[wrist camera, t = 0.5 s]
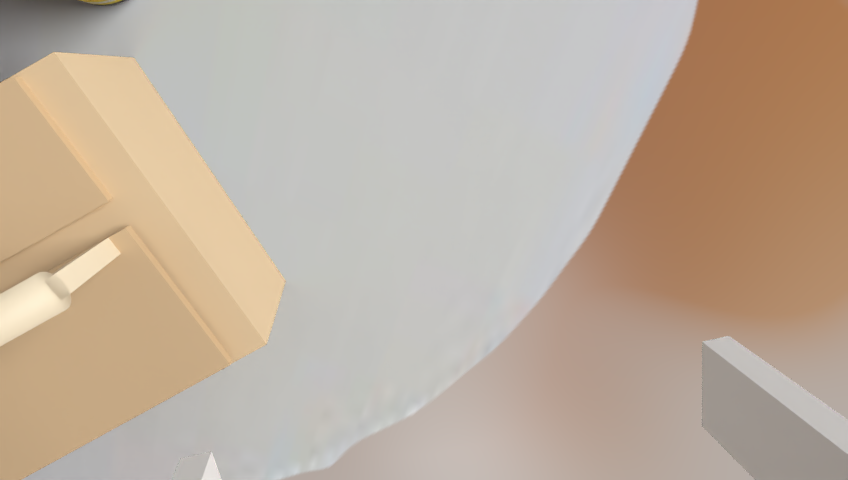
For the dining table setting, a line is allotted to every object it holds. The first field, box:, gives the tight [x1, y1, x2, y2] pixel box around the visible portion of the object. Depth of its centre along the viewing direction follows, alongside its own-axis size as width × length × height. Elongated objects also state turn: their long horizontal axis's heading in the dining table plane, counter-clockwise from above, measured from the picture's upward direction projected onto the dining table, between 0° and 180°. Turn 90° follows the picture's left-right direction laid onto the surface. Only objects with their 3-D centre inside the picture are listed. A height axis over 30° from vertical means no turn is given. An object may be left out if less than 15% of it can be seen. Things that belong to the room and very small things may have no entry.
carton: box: [0, 52, 286, 364], centre depth 33 cm, size 18×20×11 cm
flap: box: [0, 225, 233, 480], centre depth 26 cm, size 10×16×8 cm, turn 118°
